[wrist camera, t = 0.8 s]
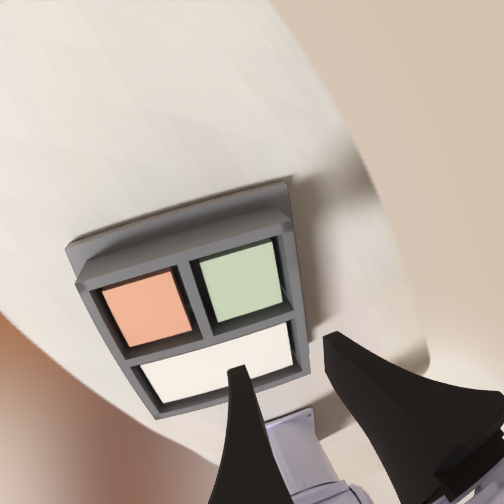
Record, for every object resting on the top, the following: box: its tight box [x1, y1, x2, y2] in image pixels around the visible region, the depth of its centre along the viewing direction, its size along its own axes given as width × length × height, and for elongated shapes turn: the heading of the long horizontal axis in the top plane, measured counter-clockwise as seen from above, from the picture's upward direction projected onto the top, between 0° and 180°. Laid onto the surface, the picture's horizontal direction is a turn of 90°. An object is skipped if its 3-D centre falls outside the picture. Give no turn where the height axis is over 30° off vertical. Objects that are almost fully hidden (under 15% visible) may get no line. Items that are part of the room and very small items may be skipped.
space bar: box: [140, 322, 293, 403], centre depth 20 cm, size 4×10×2 cm, turn 102°
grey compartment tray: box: [65, 181, 311, 420], centre depth 19 cm, size 14×14×4 cm
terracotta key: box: [102, 266, 192, 347], centre depth 17 cm, size 4×4×2 cm
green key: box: [198, 238, 282, 322], centre depth 18 cm, size 4×4×2 cm
